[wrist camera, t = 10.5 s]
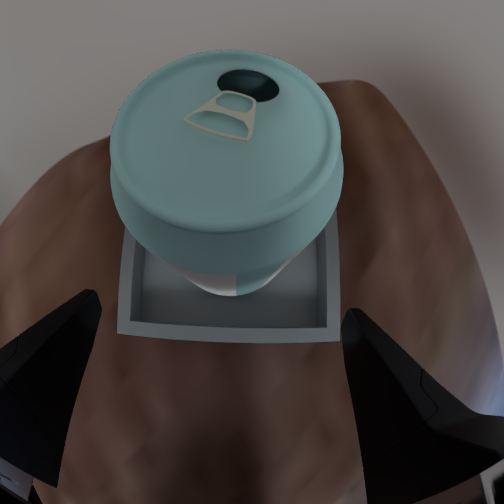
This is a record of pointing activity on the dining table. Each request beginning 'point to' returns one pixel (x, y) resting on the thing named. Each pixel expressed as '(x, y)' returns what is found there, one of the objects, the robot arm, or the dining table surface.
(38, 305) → the dining table surface
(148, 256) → the bin
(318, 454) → the dining table surface
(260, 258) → the can
